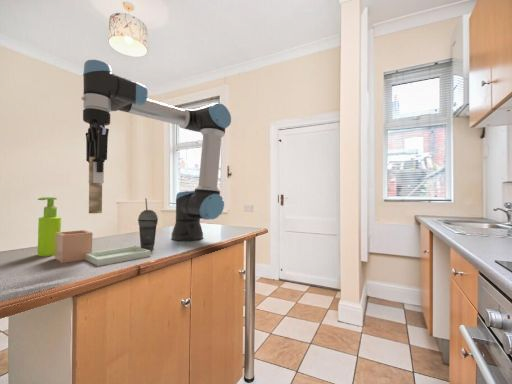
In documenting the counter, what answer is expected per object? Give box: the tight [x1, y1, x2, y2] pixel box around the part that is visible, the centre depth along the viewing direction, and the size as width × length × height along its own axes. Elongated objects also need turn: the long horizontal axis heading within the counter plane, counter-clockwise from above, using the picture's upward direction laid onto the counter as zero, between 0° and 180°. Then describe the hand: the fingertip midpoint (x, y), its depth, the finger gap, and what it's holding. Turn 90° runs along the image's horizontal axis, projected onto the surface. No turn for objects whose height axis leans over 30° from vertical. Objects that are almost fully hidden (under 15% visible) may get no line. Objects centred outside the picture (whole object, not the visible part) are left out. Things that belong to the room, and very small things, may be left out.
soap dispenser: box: [37, 196, 62, 257], centre depth 84 cm, size 6×7×20 cm
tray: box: [84, 245, 152, 267], centre depth 82 cm, size 16×11×3 cm
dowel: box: [88, 157, 103, 214], centre depth 81 cm, size 4×4×18 cm
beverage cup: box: [137, 198, 159, 251], centre depth 98 cm, size 7×7×20 cm
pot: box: [54, 229, 93, 264], centre depth 80 cm, size 8×8×9 cm
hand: (96, 182), depth 81 cm, fingers closed on dowel, 3 cm apart
